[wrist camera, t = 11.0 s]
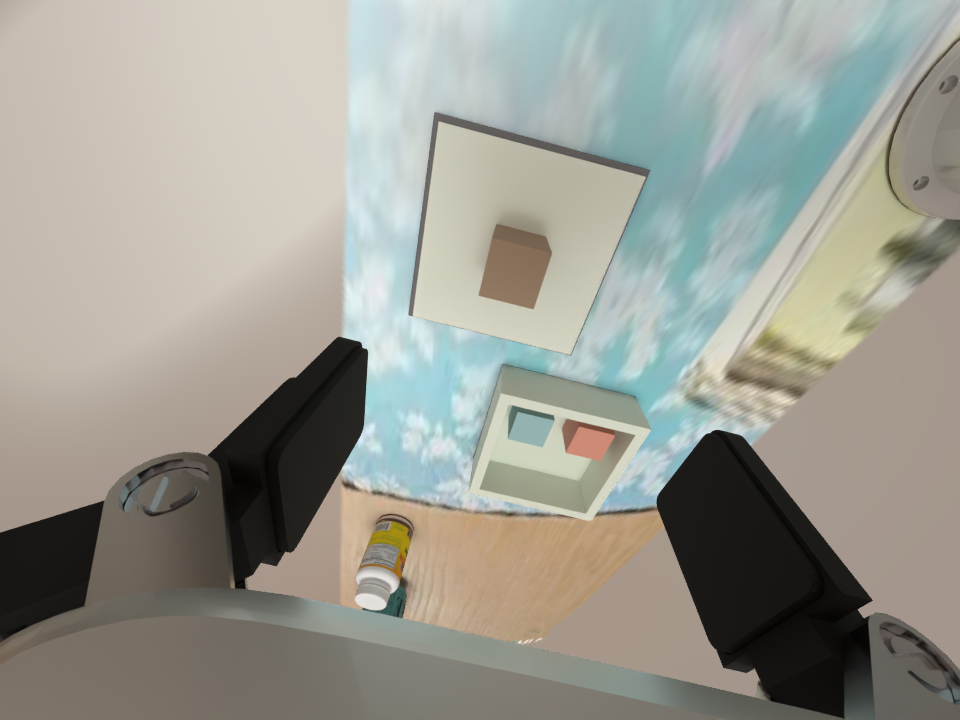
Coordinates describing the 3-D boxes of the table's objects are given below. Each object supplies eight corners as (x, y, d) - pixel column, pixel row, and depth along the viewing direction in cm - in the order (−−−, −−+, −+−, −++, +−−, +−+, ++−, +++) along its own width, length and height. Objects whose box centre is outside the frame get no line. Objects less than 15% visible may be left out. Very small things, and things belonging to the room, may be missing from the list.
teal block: (551, 397, 35) (554, 420, 32) (540, 423, 37) (542, 447, 34) (517, 389, 35) (517, 411, 32) (508, 415, 37) (507, 439, 34)
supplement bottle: (406, 541, 52) (383, 618, 43) (372, 527, 51) (342, 604, 42) (420, 522, 49) (399, 601, 41) (384, 508, 48) (355, 585, 40)
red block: (606, 411, 36) (615, 435, 33) (593, 436, 38) (600, 461, 34) (573, 403, 36) (579, 426, 32) (561, 428, 37) (565, 452, 34)
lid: (641, 176, 25) (677, 181, 19) (569, 349, 33) (579, 389, 27) (441, 122, 25) (419, 112, 19) (415, 311, 32) (394, 344, 27)
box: (634, 396, 35) (651, 429, 31) (583, 484, 42) (590, 521, 38) (502, 364, 35) (500, 393, 30) (473, 458, 42) (468, 493, 38)
